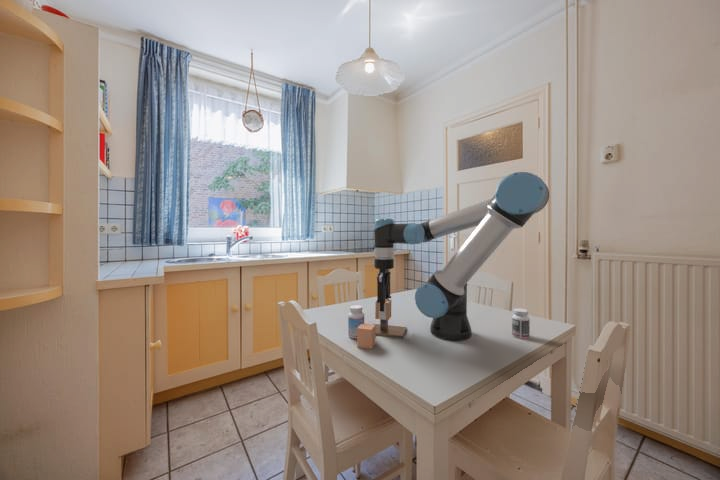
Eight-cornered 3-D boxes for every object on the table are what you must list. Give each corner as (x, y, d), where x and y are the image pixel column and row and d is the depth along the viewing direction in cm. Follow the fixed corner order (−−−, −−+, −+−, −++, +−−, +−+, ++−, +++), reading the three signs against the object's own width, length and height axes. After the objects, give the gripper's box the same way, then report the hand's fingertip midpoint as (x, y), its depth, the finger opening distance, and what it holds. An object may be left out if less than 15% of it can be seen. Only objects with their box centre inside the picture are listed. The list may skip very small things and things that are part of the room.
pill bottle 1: (362, 339, 105) (362, 309, 105) (346, 338, 107) (346, 308, 106) (365, 333, 111) (365, 305, 111) (350, 332, 113) (350, 304, 112)
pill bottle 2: (528, 334, 109) (529, 308, 109) (530, 340, 104) (530, 313, 103) (511, 332, 111) (511, 307, 111) (512, 337, 106) (512, 311, 106)
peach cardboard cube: (375, 343, 102) (375, 324, 102) (371, 348, 97) (371, 329, 97) (361, 341, 104) (361, 323, 104) (357, 347, 99) (357, 328, 99)
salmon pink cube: (391, 316, 116) (391, 299, 115) (388, 320, 111) (388, 303, 110) (378, 314, 117) (378, 298, 117) (375, 318, 112) (375, 302, 112)
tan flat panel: (406, 328, 116) (406, 313, 116) (402, 337, 107) (402, 321, 107) (372, 325, 121) (372, 310, 120) (366, 334, 111) (366, 317, 111)
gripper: (380, 255, 123) (380, 309, 124) (368, 260, 105) (368, 323, 106) (397, 256, 120) (397, 311, 121) (388, 261, 103) (388, 325, 104)
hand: (384, 316), depth 114 cm, fingers closed on salmon pink cube, 5 cm apart
